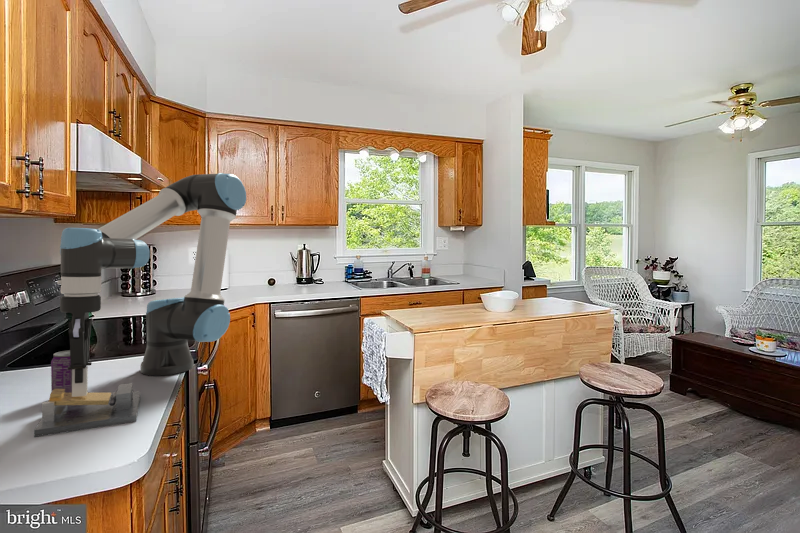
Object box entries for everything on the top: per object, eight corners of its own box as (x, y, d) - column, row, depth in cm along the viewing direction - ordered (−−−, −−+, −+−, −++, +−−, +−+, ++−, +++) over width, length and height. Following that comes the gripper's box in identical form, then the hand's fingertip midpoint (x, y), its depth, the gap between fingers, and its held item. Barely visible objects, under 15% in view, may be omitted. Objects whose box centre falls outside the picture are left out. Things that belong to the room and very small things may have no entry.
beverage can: (81, 391, 115) (81, 348, 114) (89, 397, 110) (89, 352, 110) (48, 398, 109) (47, 352, 109) (55, 405, 105) (54, 357, 104)
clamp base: (54, 407, 103) (53, 385, 103) (140, 396, 112) (140, 376, 112) (34, 437, 87) (33, 411, 87) (136, 421, 96) (136, 397, 96)
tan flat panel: (54, 396, 99) (55, 386, 99) (117, 396, 105) (119, 387, 105) (46, 406, 93) (48, 396, 93) (114, 405, 99) (116, 396, 99)
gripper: (66, 292, 101) (65, 389, 102) (53, 297, 90) (52, 407, 91) (104, 291, 105) (102, 385, 106) (96, 297, 94) (95, 402, 94)
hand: (79, 395), depth 98 cm, fingers closed
